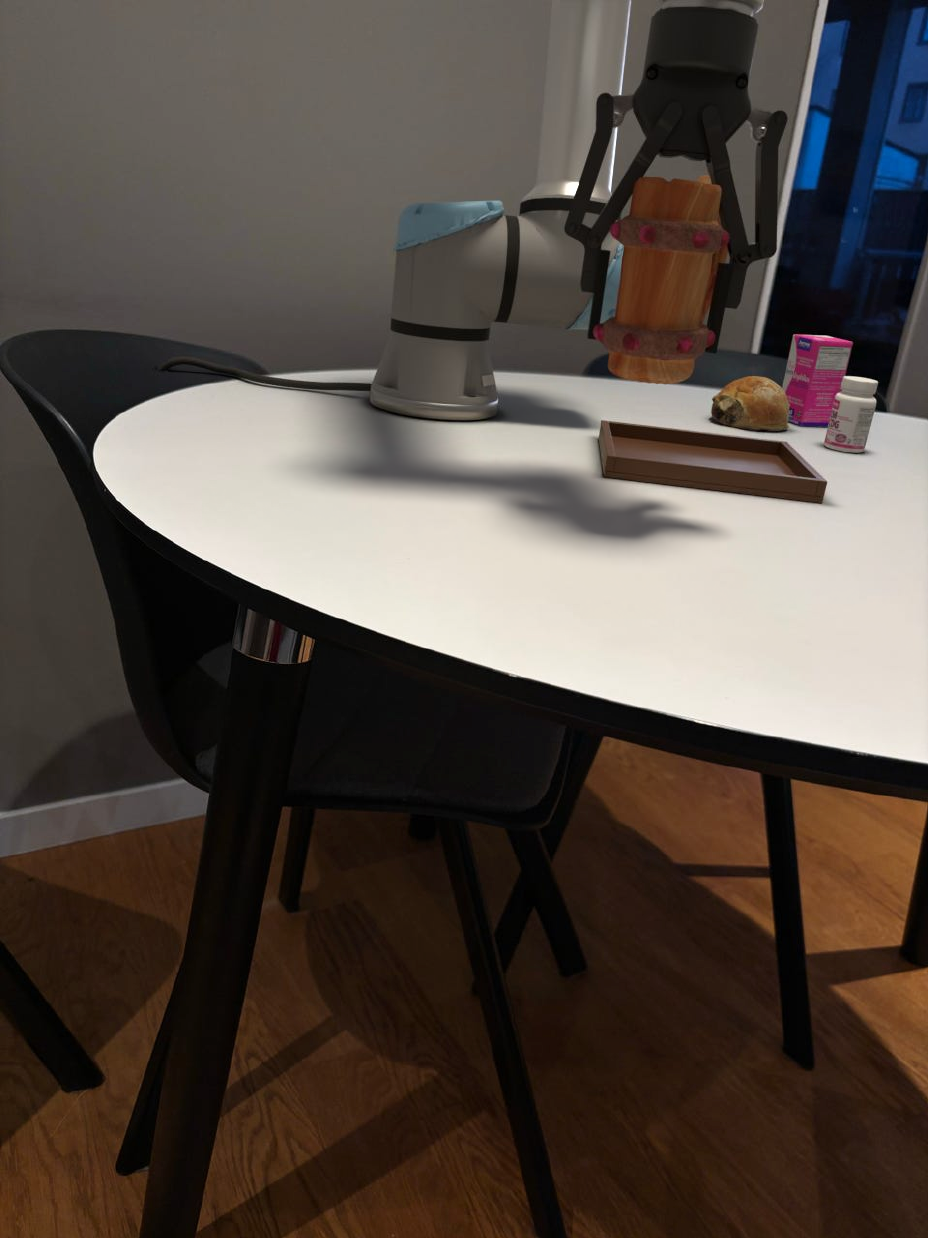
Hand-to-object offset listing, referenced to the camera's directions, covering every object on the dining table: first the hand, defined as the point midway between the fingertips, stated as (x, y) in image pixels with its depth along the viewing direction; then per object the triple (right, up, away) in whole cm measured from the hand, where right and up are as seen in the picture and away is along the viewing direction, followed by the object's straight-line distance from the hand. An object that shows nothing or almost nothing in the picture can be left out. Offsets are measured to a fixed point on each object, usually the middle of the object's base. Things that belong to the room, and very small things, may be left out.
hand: (650, 343), depth 77 cm
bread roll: (+23, +4, +52) cm, 57 cm away
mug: (+1, -3, +1) cm, 3 cm away
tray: (+10, -6, +24) cm, 26 cm away
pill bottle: (+32, -1, +42) cm, 53 cm away
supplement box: (+32, +5, +58) cm, 67 cm away
